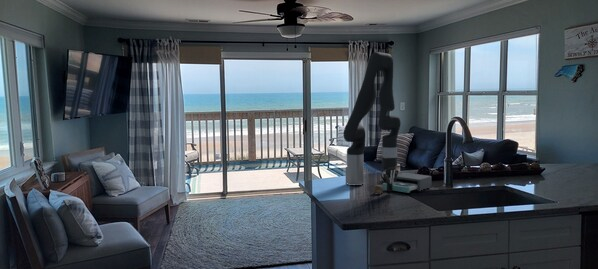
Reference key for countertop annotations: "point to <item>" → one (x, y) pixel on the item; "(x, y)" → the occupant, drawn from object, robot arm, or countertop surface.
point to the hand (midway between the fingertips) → (389, 190)
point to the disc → (402, 184)
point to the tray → (402, 187)
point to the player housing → (415, 180)
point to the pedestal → (378, 189)
